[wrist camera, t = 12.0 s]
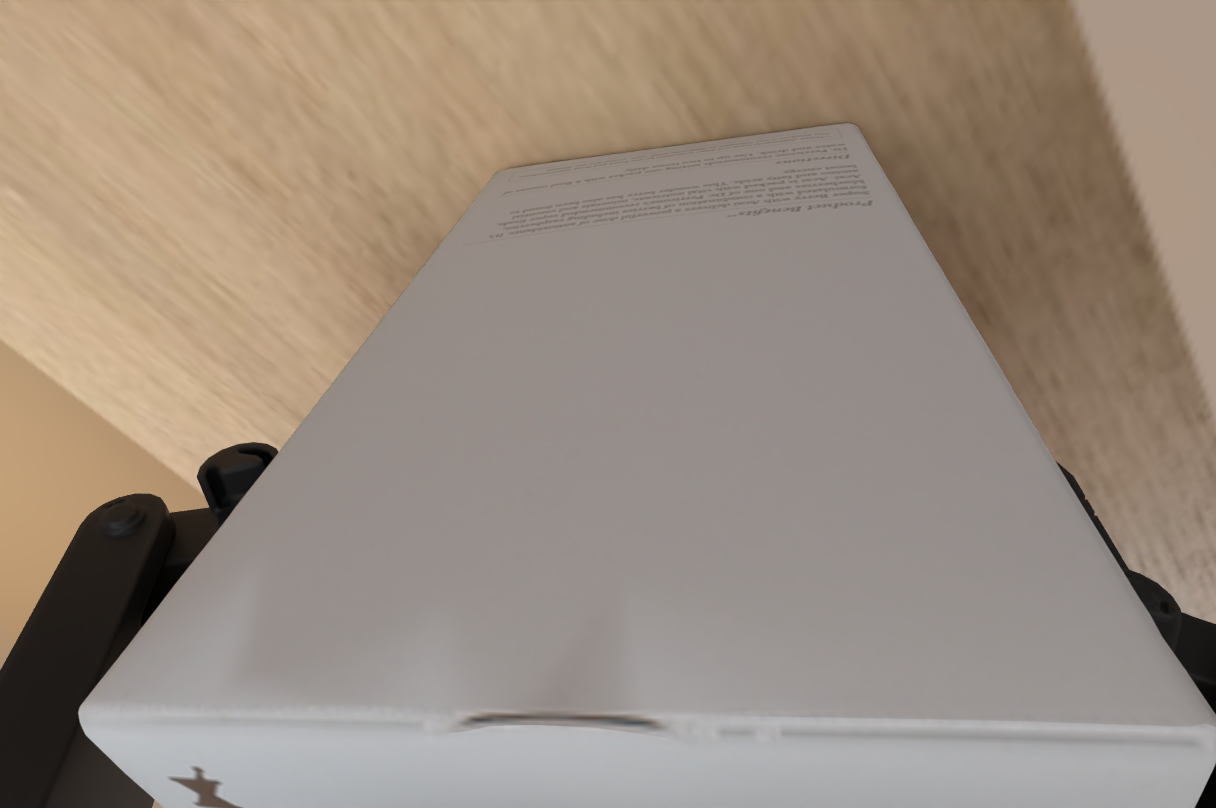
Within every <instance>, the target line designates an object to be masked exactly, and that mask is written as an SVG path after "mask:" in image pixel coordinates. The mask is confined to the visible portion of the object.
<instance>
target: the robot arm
mask: <svg viewBox="0 0 1216 808" xmlns="http://www.w3.org/2000/svg"><path fill="white" fill-rule="evenodd" d="M278 453H279V452H278V450H277V449H276V448H274V447H272V446H270V445H268V444H264V443H255V442H252V443H244V444H237V445H234V446H231V447H229V448H226V449H223V450H221V451H219V452H218V453H216V454H214V455H213V456H211V457H209V458H208V459H207V460H206V461H205V462H204V464H203V465H202V466H201V467H200V469H199V472H198V475H197V479H198V481H199V483H200V486H201V488H202V491H203V493H204V495H205V498H206V500H207V502H208V505H209V508H203V509H196V510H188V511H180V512H172V513H169V511H168V509H167V506H166V505H165V503H164V502H163V500H162V499H161V498H160V497H157V496H155V495H152V494H132V495H127V496H123V497H119V498H117V499H114V500H112V501H109V502H107V503H105V504H103V505H101V506H100V507H98V508H97V509H96V510H94V511H93V512H91V513H90V514H89V515H88V516H87V517H86V519H85V520H84V521H83V522H82V524H81V525H80V527H79V528H78V530H77V532H76V534H75V536H74V538H73V540H72V541H71V543H70V545H69V547H68V548H67V550H66V552H65V554H64V556H63V558H62V559H61V561H60V563H59V565H58V567H57V569H56V570H55V572H54V574H53V576H52V578H51V580H50V581H49V583H48V585H47V587H46V588H45V590H44V592H43V594H42V596H41V598H40V599H39V601H38V603H37V605H36V607H35V608H34V610H33V612H32V614H31V616H30V617H29V620H28V621H27V623H26V625H25V627H24V628H23V630H22V632H21V634H20V636H19V637H18V639H17V641H16V643H15V645H14V647H13V648H12V650H11V652H10V654H9V656H8V657H7V659H6V661H5V663H4V665H3V667H2V668H1V670H0V808H152V806H153V802H154V798H152V797H151V796H150V795H149V794H148V793H147V792H146V791H145V790H143V789H142V788H141V787H140V786H139V785H138V784H137V783H135V782H134V781H133V780H132V779H131V778H130V777H129V776H128V775H126V774H125V773H124V772H123V771H122V770H121V769H120V768H119V767H118V766H117V765H116V764H115V763H114V762H113V761H112V760H111V759H110V758H109V757H108V756H107V755H106V754H105V753H104V752H103V751H102V750H101V749H100V748H98V747H97V746H96V745H95V744H94V743H93V742H92V741H91V740H90V739H89V738H88V737H87V736H86V735H85V733H84V731H83V728H82V726H81V724H80V720H79V714H78V712H79V708H80V706H81V704H82V703H83V702H84V701H85V699H86V698H87V697H88V696H89V694H90V693H91V692H92V691H93V689H94V688H95V687H96V686H97V684H98V683H99V682H100V680H101V679H102V678H103V677H104V675H105V674H106V673H107V672H108V670H109V669H110V668H111V667H112V665H113V664H114V663H115V662H116V660H117V659H118V658H119V656H120V655H121V654H122V653H123V651H124V650H125V649H126V648H127V646H128V645H129V644H130V642H131V641H132V640H133V639H134V637H135V636H136V635H137V633H138V632H139V631H140V629H141V628H142V627H143V626H144V624H145V623H146V622H147V620H148V619H149V618H150V616H151V615H152V614H153V613H154V611H155V610H156V609H157V607H158V606H159V605H160V603H161V602H162V601H163V600H164V598H165V597H166V596H167V594H168V593H169V592H170V590H171V589H172V588H173V587H174V585H175V584H176V583H177V581H178V580H179V579H180V578H181V576H182V575H183V574H184V573H185V571H186V570H187V569H188V568H189V566H190V565H191V564H192V562H193V561H194V560H195V559H196V557H197V556H198V555H199V554H200V552H201V551H202V550H203V549H204V547H205V546H206V545H207V544H208V542H209V541H210V540H211V539H212V537H213V536H214V535H215V533H216V532H217V531H218V530H219V528H220V527H221V526H222V525H223V523H224V522H225V521H226V520H227V518H228V517H229V516H230V514H231V513H232V511H233V510H234V509H235V507H236V506H237V505H238V503H239V502H240V501H241V500H242V498H243V497H244V496H245V495H246V493H247V492H248V491H249V490H250V488H251V487H252V486H253V484H254V483H255V482H256V481H257V479H258V478H259V477H260V476H261V474H262V473H263V472H264V471H265V469H266V468H267V467H268V465H269V464H270V463H271V462H272V460H273V459H274V458H275V456H276V455H277V454H278ZM1056 463H1057V465H1058V466H1059V468H1060V470H1061V471H1062V473H1063V475H1064V476H1065V478H1066V480H1067V481H1068V483H1069V484H1070V486H1071V488H1072V489H1073V491H1074V493H1075V494H1076V496H1077V498H1078V499H1079V501H1080V502H1081V504H1082V506H1083V507H1084V509H1085V511H1086V512H1087V514H1088V516H1089V517H1090V519H1091V520H1092V522H1093V524H1094V525H1095V527H1096V529H1097V530H1098V532H1099V534H1100V535H1101V537H1102V538H1103V540H1104V542H1105V543H1106V545H1107V547H1108V548H1109V550H1110V551H1111V553H1112V555H1113V556H1114V558H1115V559H1116V561H1117V563H1118V564H1119V566H1120V568H1121V569H1122V571H1123V572H1124V574H1125V576H1126V577H1127V579H1128V581H1129V582H1130V584H1131V586H1132V587H1133V589H1134V591H1135V592H1136V594H1137V595H1138V597H1139V599H1140V600H1141V602H1142V603H1143V605H1144V606H1145V608H1146V609H1147V611H1148V612H1149V614H1150V615H1151V617H1152V619H1153V621H1154V623H1155V625H1156V626H1157V628H1158V630H1159V632H1160V634H1161V636H1162V637H1163V639H1164V640H1165V642H1166V643H1167V644H1168V646H1169V647H1170V649H1171V650H1172V651H1173V653H1174V654H1175V656H1176V657H1177V659H1178V660H1179V661H1180V663H1181V664H1182V666H1183V667H1184V669H1185V670H1186V671H1187V673H1188V674H1189V676H1190V677H1191V679H1192V680H1193V682H1194V683H1195V685H1196V686H1197V688H1198V689H1199V691H1200V692H1201V694H1202V695H1203V697H1204V698H1205V700H1206V701H1207V703H1208V704H1209V706H1210V707H1211V709H1212V710H1213V712H1214V713H1215V715H1216V624H1213V623H1210V622H1207V621H1204V620H1201V619H1198V618H1195V617H1192V616H1190V615H1187V614H1185V613H1182V612H1181V609H1180V607H1179V606H1178V604H1177V603H1176V601H1175V600H1174V598H1173V597H1172V596H1171V595H1170V594H1169V593H1168V592H1167V591H1166V590H1165V589H1163V588H1162V587H1161V586H1160V585H1159V584H1158V583H1156V582H1154V581H1152V580H1151V579H1149V578H1147V577H1145V576H1143V575H1142V574H1140V573H1137V572H1134V571H1131V570H1129V569H1128V567H1127V566H1126V564H1125V562H1124V561H1123V559H1122V557H1121V556H1120V554H1119V552H1118V550H1117V549H1116V547H1115V545H1114V544H1113V542H1112V540H1111V539H1110V537H1109V535H1108V534H1107V532H1106V530H1105V529H1104V527H1103V525H1102V523H1101V522H1100V520H1099V518H1098V517H1097V516H1094V510H1093V508H1092V507H1091V505H1090V503H1089V502H1088V500H1085V495H1084V493H1083V491H1082V490H1081V488H1080V486H1079V485H1078V483H1077V481H1076V480H1075V478H1074V476H1073V475H1072V474H1070V473H1069V472H1068V471H1067V470H1066V469H1065V468H1063V467H1062V466H1061V465H1060V464H1059V463H1058V462H1056ZM1195 808H1216V763H1215V767H1214V769H1213V771H1212V773H1211V775H1210V777H1209V779H1208V781H1207V783H1206V785H1205V787H1204V790H1203V792H1202V794H1201V796H1200V798H1199V800H1198V802H1197V804H1196V806H1195Z"/></svg>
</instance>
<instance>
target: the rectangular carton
mask: <svg viewBox="0 0 1216 808" xmlns="http://www.w3.org/2000/svg"><path fill="white" fill-rule="evenodd" d="M78 714H79V720H80V724H81V726H82V728H83V731H84V733H85V735H86V736H87V737H88V738H89V739H90V740H91V741H92V742H93V743H94V744H95V745H96V746H97V747H98V748H100V749H101V750H102V751H103V752H104V753H105V754H106V755H107V756H108V757H109V758H110V759H111V760H112V761H113V762H114V763H115V764H116V765H117V766H118V767H119V768H120V769H121V770H122V771H123V772H124V773H125V774H126V775H128V776H129V777H130V778H131V779H132V780H133V781H134V782H135V783H137V784H138V785H139V786H140V787H141V788H142V789H143V790H145V791H146V792H147V793H148V794H149V795H150V796H151V797H152V798H154V799H155V800H156V801H157V802H158V803H159V804H160V805H161V806H163V807H164V808H1195V806H1196V804H1197V802H1198V800H1199V798H1200V796H1201V794H1202V792H1203V790H1204V787H1205V785H1206V783H1207V781H1208V779H1209V777H1210V775H1211V773H1212V771H1213V769H1214V767H1215V763H1216V715H1215V713H1214V712H1213V710H1212V709H1211V707H1210V706H1209V704H1208V703H1207V701H1206V700H1205V698H1204V697H1203V695H1202V694H1201V692H1200V691H1199V689H1198V688H1197V686H1196V685H1195V683H1194V682H1193V680H1192V679H1191V677H1190V676H1189V674H1188V673H1187V671H1186V670H1185V669H1184V667H1183V666H1182V664H1181V663H1180V661H1179V660H1178V659H1177V657H1176V656H1175V654H1174V653H1173V651H1172V650H1171V649H1170V647H1169V646H1168V644H1167V643H1166V642H1165V640H1164V639H1163V637H1162V636H1161V634H1160V632H1159V630H1158V628H1157V626H1156V625H1155V623H1154V621H1153V619H1152V617H1151V615H1150V614H1149V612H1148V611H1147V609H1146V608H1145V606H1144V605H1143V603H1142V602H1141V600H1140V599H1139V597H1138V595H1137V594H1136V592H1135V591H1134V589H1133V587H1132V586H1131V584H1130V582H1129V581H1128V579H1127V577H1126V576H1125V574H1124V572H1123V571H1122V569H1121V568H1120V566H1119V564H1118V563H1117V561H1116V559H1115V558H1114V556H1113V555H1112V553H1111V551H1110V550H1109V548H1108V547H1107V545H1106V543H1105V542H1104V540H1103V538H1102V537H1101V535H1100V534H1099V532H1098V530H1097V529H1096V527H1095V525H1094V524H1093V522H1092V520H1091V519H1090V517H1089V516H1088V514H1087V512H1086V511H1085V509H1084V507H1083V506H1082V504H1081V502H1080V501H1079V499H1078V498H1077V496H1076V494H1075V493H1074V491H1073V489H1072V488H1071V486H1070V484H1069V483H1068V481H1067V480H1066V478H1065V476H1064V475H1063V473H1062V471H1061V470H1060V468H1059V466H1058V465H1057V463H1056V461H1055V460H1054V458H1053V456H1052V455H1051V453H1050V451H1049V449H1048V448H1047V446H1046V444H1045V443H1044V441H1043V439H1042V438H1041V436H1040V434H1039V432H1038V431H1037V429H1036V427H1035V426H1034V424H1033V422H1032V421H1031V419H1030V417H1029V415H1028V414H1027V412H1026V410H1025V409H1024V407H1023V405H1022V404H1021V402H1020V400H1019V399H1018V397H1017V395H1016V394H1015V392H1014V390H1013V389H1012V387H1011V385H1010V383H1009V382H1008V380H1007V378H1006V376H1005V375H1004V373H1003V371H1002V370H1001V368H1000V366H999V365H998V363H997V361H996V360H995V358H994V356H993V355H992V353H991V351H990V350H989V348H988V346H987V345H986V343H985V341H984V340H983V338H982V336H981V335H980V333H979V331H978V330H977V328H976V326H975V325H974V323H973V321H972V320H971V318H970V316H969V315H968V313H967V311H966V310H965V308H964V306H963V305H962V303H961V301H960V300H959V298H958V296H957V295H956V293H955V291H954V290H953V288H952V286H951V284H950V283H949V281H948V279H947V278H946V276H945V274H944V273H943V271H942V269H941V268H940V266H939V264H938V262H937V261H936V259H935V257H934V256H933V254H932V253H931V251H930V249H929V248H928V246H927V244H926V243H925V241H924V239H923V238H922V236H921V234H920V232H919V231H918V229H917V227H916V225H915V224H914V222H913V220H912V218H911V217H910V215H909V213H908V212H907V210H906V208H905V207H904V205H903V203H902V202H901V200H900V198H899V196H898V195H897V193H896V191H895V189H894V188H893V186H892V185H891V183H890V182H889V180H888V178H887V176H886V174H885V173H884V171H883V169H882V167H881V166H880V164H879V163H878V161H877V159H876V158H875V156H874V154H873V153H872V151H871V149H870V147H869V145H868V143H867V142H866V140H865V138H864V136H863V134H862V132H861V130H860V128H859V127H857V126H856V125H854V124H851V123H844V124H836V125H827V126H819V127H811V128H804V129H797V130H789V131H782V132H774V133H767V134H759V135H752V136H745V137H737V138H730V139H722V140H715V141H707V142H700V143H692V144H685V145H677V146H670V147H663V148H655V149H648V150H640V151H633V152H626V153H618V154H611V155H603V156H596V157H589V158H581V159H574V160H567V161H559V162H552V163H545V164H537V165H530V166H524V167H517V168H510V169H504V170H500V171H498V172H496V173H495V174H494V175H493V177H492V178H491V179H490V181H489V182H488V183H487V185H486V186H485V187H484V189H483V190H482V191H481V192H480V194H479V195H478V196H477V198H476V199H475V200H474V202H473V203H472V204H471V205H470V207H469V208H468V209H467V211H466V212H465V213H464V214H463V215H462V217H461V218H460V219H459V220H458V222H457V223H456V224H455V226H454V227H453V228H452V230H451V231H450V232H449V234H448V235H447V236H446V237H445V239H444V240H443V241H442V242H441V244H440V245H439V246H438V247H437V249H436V250H435V251H434V253H433V254H432V255H431V257H430V258H429V259H428V261H427V262H426V263H425V264H424V266H423V267H422V268H421V269H420V270H419V272H418V273H417V274H416V276H415V277H414V278H413V280H412V281H411V282H410V284H409V285H408V286H407V288H406V289H405V290H404V291H403V293H402V294H401V295H400V296H399V298H398V299H397V300H396V302H395V303H394V304H393V306H392V307H391V308H390V309H389V311H388V312H387V313H386V314H385V316H384V317H383V318H382V320H381V321H380V322H379V324H378V325H377V326H376V328H375V329H374V330H373V332H372V333H371V334H370V335H369V337H368V338H367V339H366V341H365V342H364V343H363V345H362V346H361V347H360V348H359V350H358V351H357V352H356V354H355V355H354V356H353V357H352V359H351V360H350V361H349V362H348V364H347V365H346V366H345V368H344V369H343V370H342V371H341V373H340V374H339V375H338V377H337V378H336V379H335V380H334V382H333V383H332V384H331V386H330V387H329V388H328V389H327V391H326V392H325V393H324V395H323V396H322V397H321V398H320V400H319V401H318V402H317V404H316V405H315V406H314V408H313V409H312V410H311V411H310V413H309V414H308V415H307V417H306V418H305V419H304V420H303V422H302V423H301V424H300V426H299V427H298V428H297V429H296V431H295V432H294V433H293V435H292V436H291V437H290V438H289V440H288V441H287V442H286V444H285V445H284V446H283V447H282V449H281V450H280V451H279V453H278V454H277V455H276V456H275V458H274V459H273V460H272V462H271V463H270V464H269V465H268V467H267V468H266V469H265V471H264V472H263V473H262V474H261V476H260V477H259V478H258V479H257V481H256V482H255V483H254V484H253V486H252V487H251V488H250V490H249V491H248V492H247V493H246V495H245V496H244V497H243V498H242V500H241V501H240V502H239V503H238V505H237V506H236V507H235V509H234V510H233V511H232V513H231V514H230V516H229V517H228V518H227V520H226V521H225V522H224V523H223V525H222V526H221V527H220V528H219V530H218V531H217V532H216V533H215V535H214V536H213V537H212V539H211V540H210V541H209V542H208V544H207V545H206V546H205V547H204V549H203V550H202V551H201V552H200V554H199V555H198V556H197V557H196V559H195V560H194V561H193V562H192V564H191V565H190V566H189V568H188V569H187V570H186V571H185V573H184V574H183V575H182V576H181V578H180V579H179V580H178V581H177V583H176V584H175V585H174V587H173V588H172V589H171V590H170V592H169V593H168V594H167V596H166V597H165V598H164V600H163V601H162V602H161V603H160V605H159V606H158V607H157V609H156V610H155V611H154V613H153V614H152V615H151V616H150V618H149V619H148V620H147V622H146V623H145V624H144V626H143V627H142V628H141V629H140V631H139V632H138V633H137V635H136V636H135V637H134V639H133V640H132V641H131V642H130V644H129V645H128V646H127V648H126V649H125V650H124V651H123V653H122V654H121V655H120V656H119V658H118V659H117V660H116V662H115V663H114V664H113V665H112V667H111V668H110V669H109V670H108V672H107V673H106V674H105V675H104V677H103V678H102V679H101V680H100V682H99V683H98V684H97V686H96V687H95V688H94V689H93V691H92V692H91V693H90V694H89V696H88V697H87V698H86V699H85V701H84V702H83V703H82V704H81V706H80V708H79V712H78Z"/></svg>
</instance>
